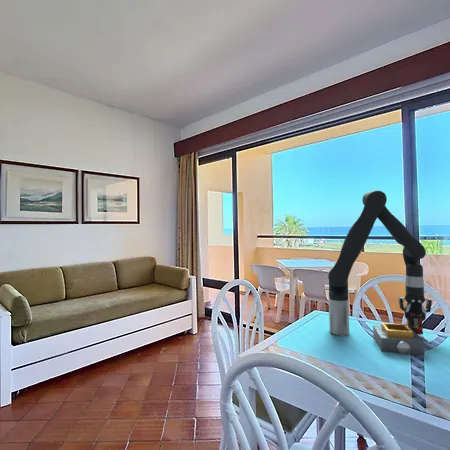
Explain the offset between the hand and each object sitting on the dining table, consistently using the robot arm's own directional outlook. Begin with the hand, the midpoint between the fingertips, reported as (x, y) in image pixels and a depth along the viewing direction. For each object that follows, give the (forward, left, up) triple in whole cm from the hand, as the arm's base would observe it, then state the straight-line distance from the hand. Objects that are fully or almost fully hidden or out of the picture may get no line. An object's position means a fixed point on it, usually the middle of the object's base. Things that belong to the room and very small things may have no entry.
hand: (415, 319), depth 139 cm
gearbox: (-12, -14, -8) cm, 20 cm away
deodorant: (0, 0, -6) cm, 6 cm away
